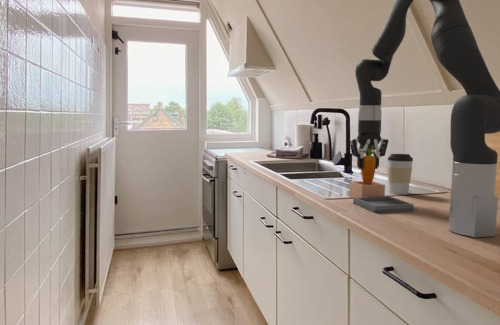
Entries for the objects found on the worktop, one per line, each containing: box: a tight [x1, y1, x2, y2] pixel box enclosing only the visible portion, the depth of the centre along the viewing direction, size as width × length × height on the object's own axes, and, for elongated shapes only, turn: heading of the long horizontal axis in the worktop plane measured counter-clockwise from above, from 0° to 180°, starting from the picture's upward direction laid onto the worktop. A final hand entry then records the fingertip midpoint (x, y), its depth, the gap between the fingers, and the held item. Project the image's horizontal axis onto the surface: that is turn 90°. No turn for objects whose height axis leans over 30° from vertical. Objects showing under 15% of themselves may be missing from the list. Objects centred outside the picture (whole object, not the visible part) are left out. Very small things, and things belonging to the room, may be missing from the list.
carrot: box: [360, 146, 376, 185], centre depth 133 cm, size 5×5×15 cm
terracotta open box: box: [348, 180, 386, 199], centre depth 134 cm, size 9×9×6 cm
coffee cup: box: [387, 153, 414, 195], centre depth 145 cm, size 9×9×15 cm
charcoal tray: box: [352, 195, 414, 214], centre depth 121 cm, size 13×13×2 cm
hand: (368, 168), depth 133 cm, fingers closed on carrot, 5 cm apart
